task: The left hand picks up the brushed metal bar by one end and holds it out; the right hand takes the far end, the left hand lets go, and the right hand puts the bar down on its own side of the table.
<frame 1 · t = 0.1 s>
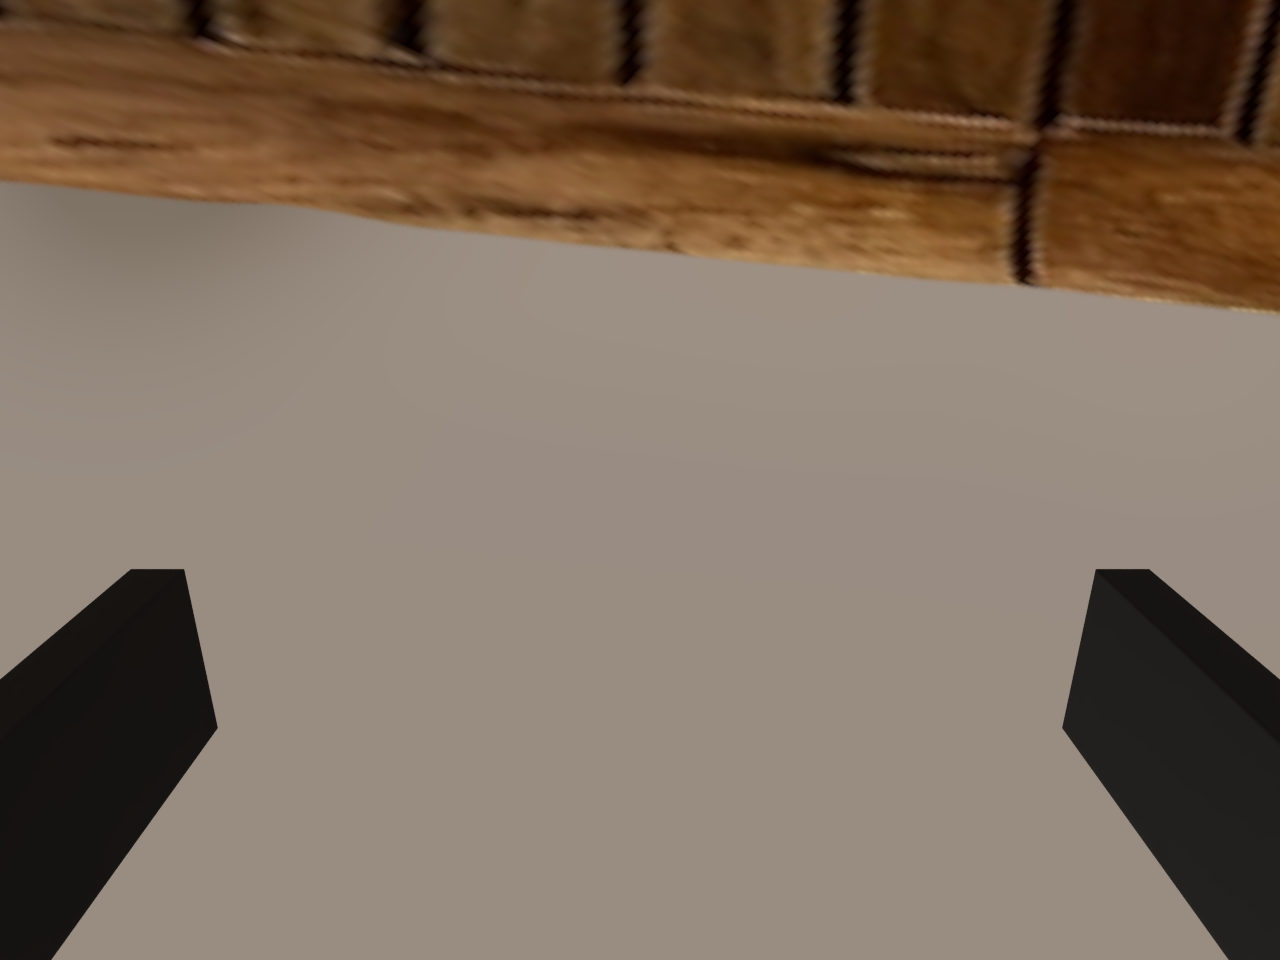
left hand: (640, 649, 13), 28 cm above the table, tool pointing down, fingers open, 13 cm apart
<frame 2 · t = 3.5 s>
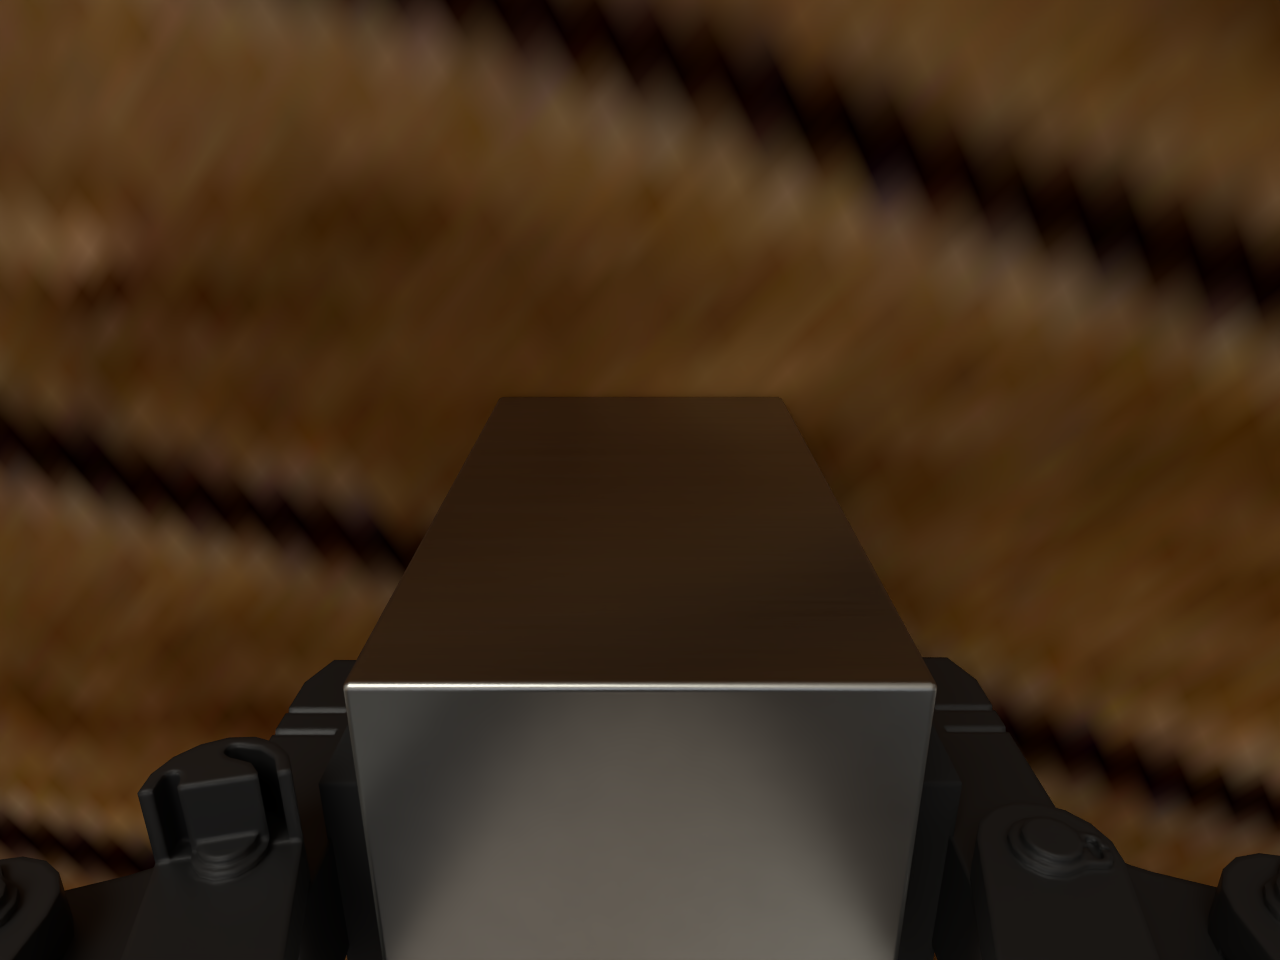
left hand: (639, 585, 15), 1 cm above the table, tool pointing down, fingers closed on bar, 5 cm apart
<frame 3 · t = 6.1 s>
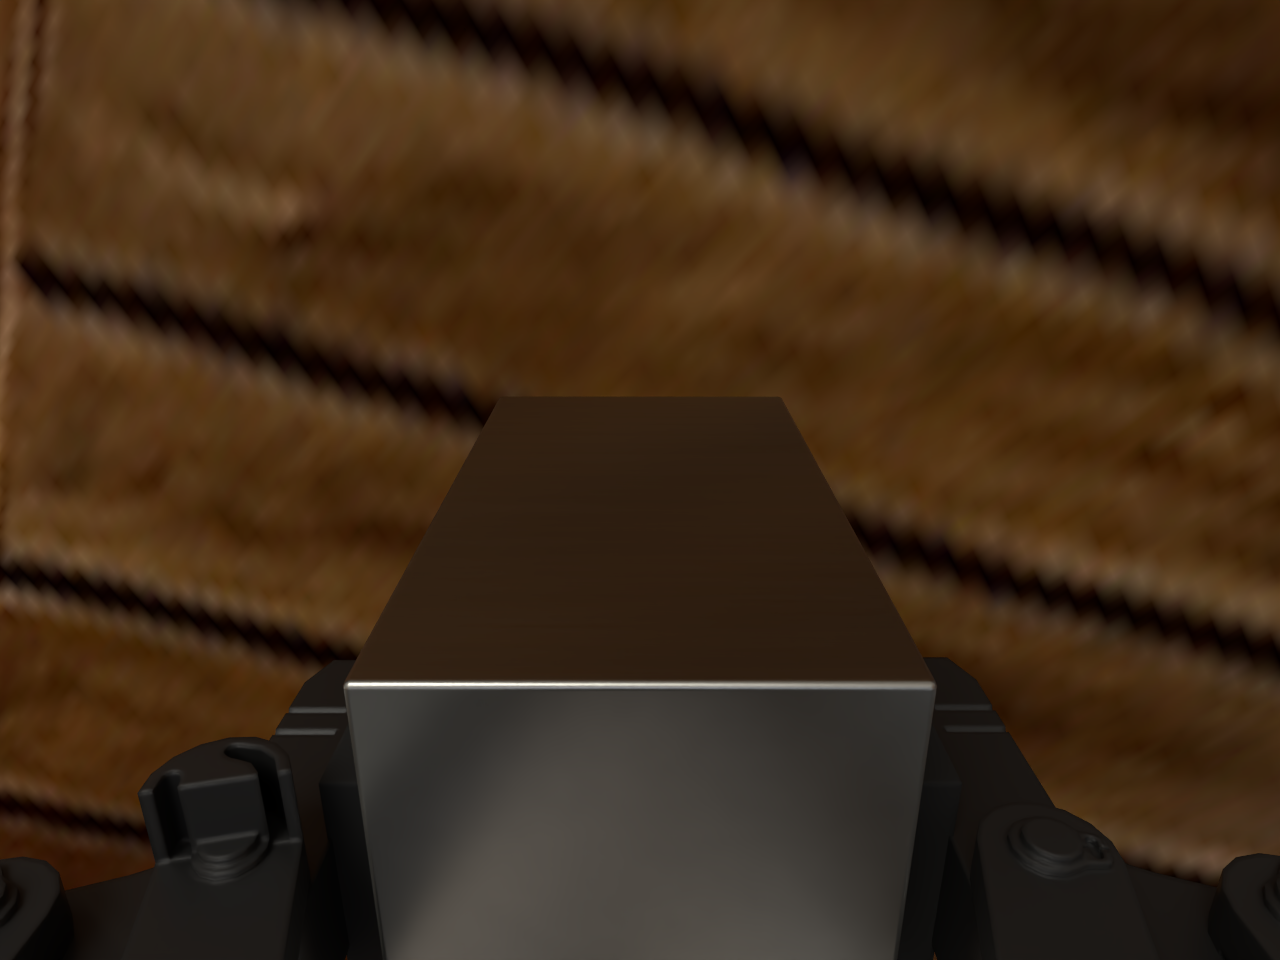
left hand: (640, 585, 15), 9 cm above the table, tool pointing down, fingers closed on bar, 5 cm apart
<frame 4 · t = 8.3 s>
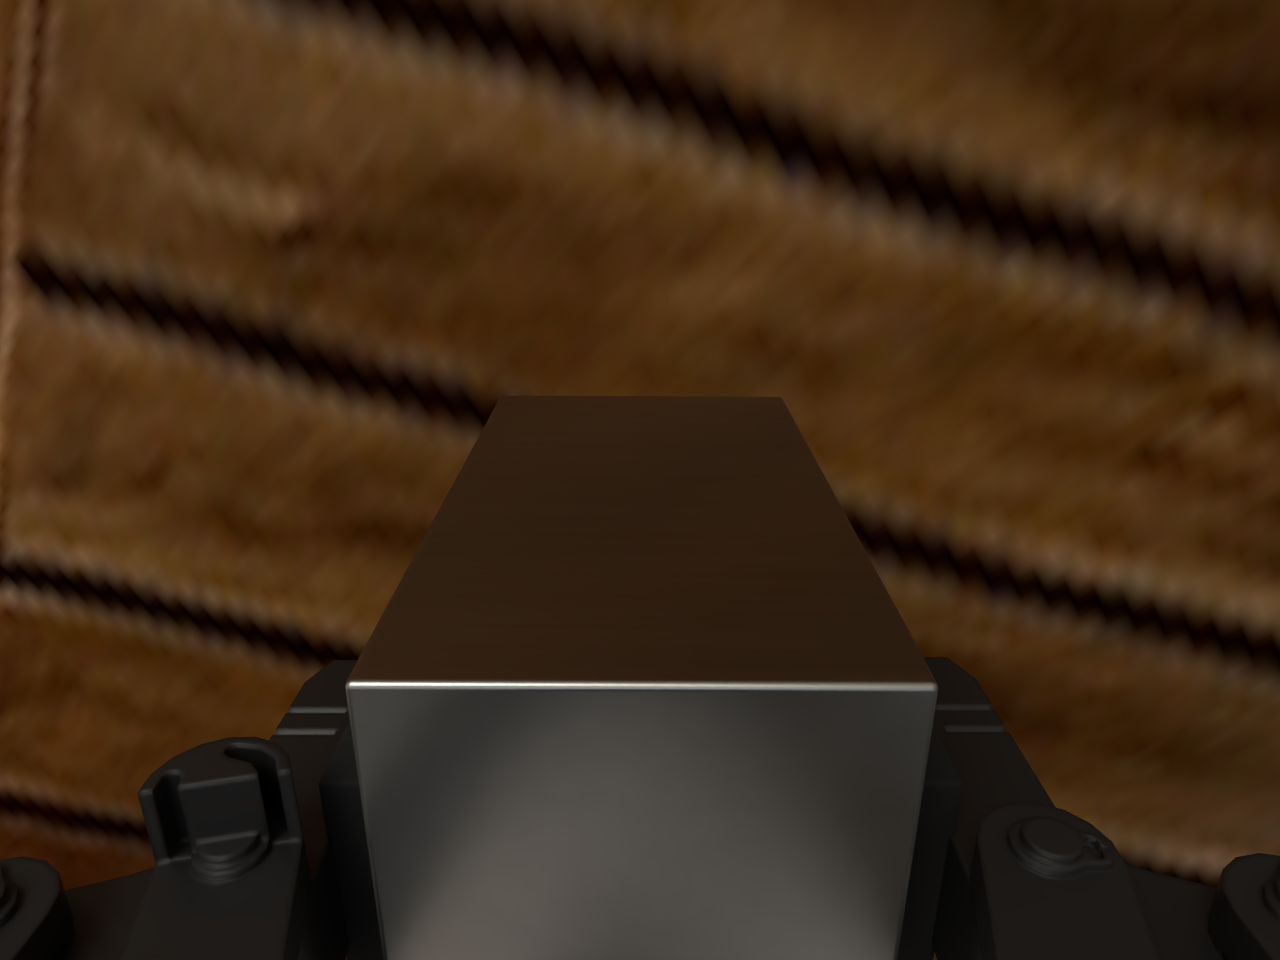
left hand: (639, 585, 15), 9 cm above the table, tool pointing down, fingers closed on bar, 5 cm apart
when the left hand's fingers open (9 cm above the table, at t = 8.8 s): bar stays where it is, held by the right hand.
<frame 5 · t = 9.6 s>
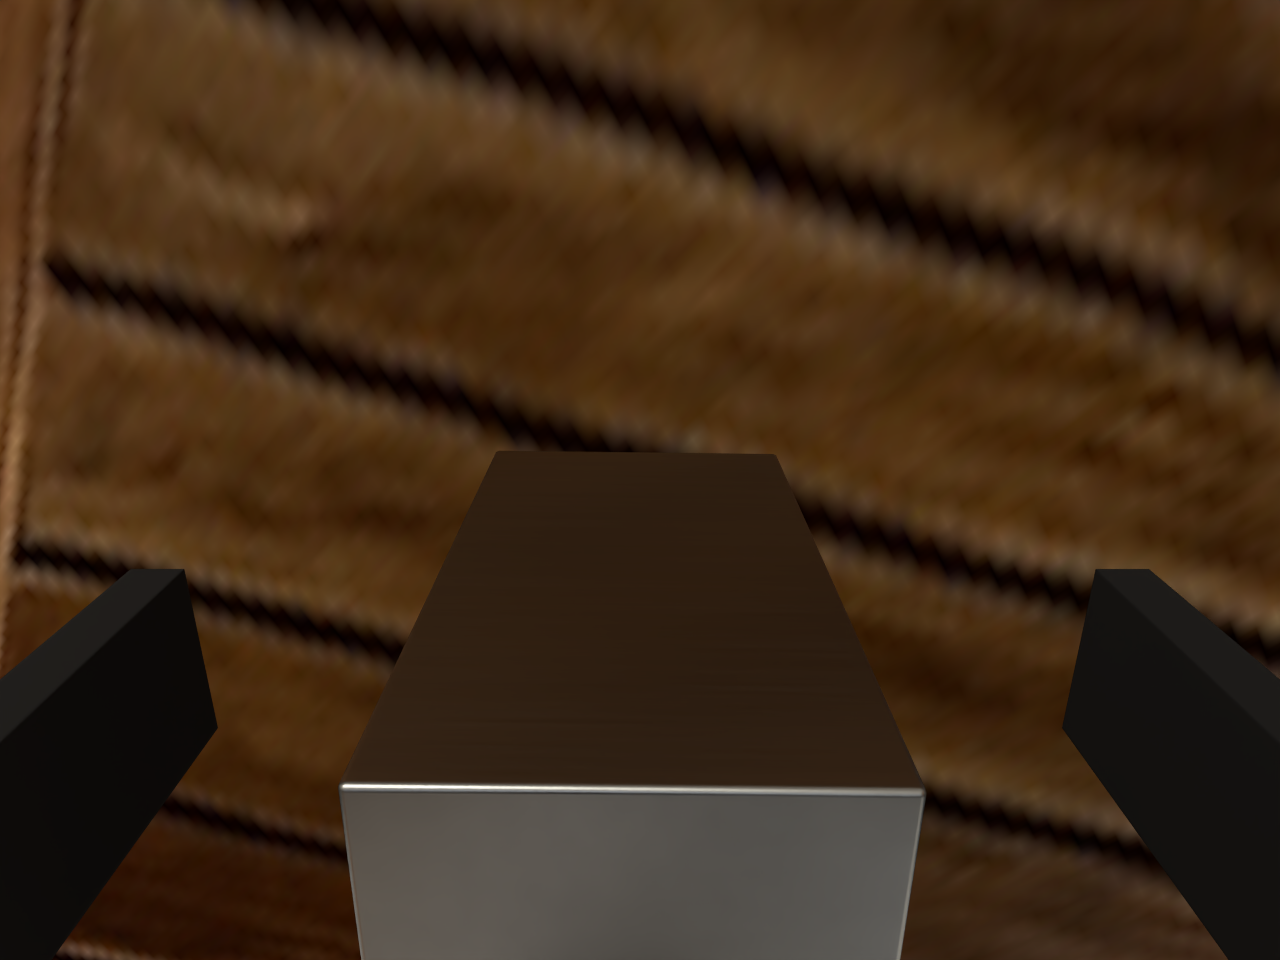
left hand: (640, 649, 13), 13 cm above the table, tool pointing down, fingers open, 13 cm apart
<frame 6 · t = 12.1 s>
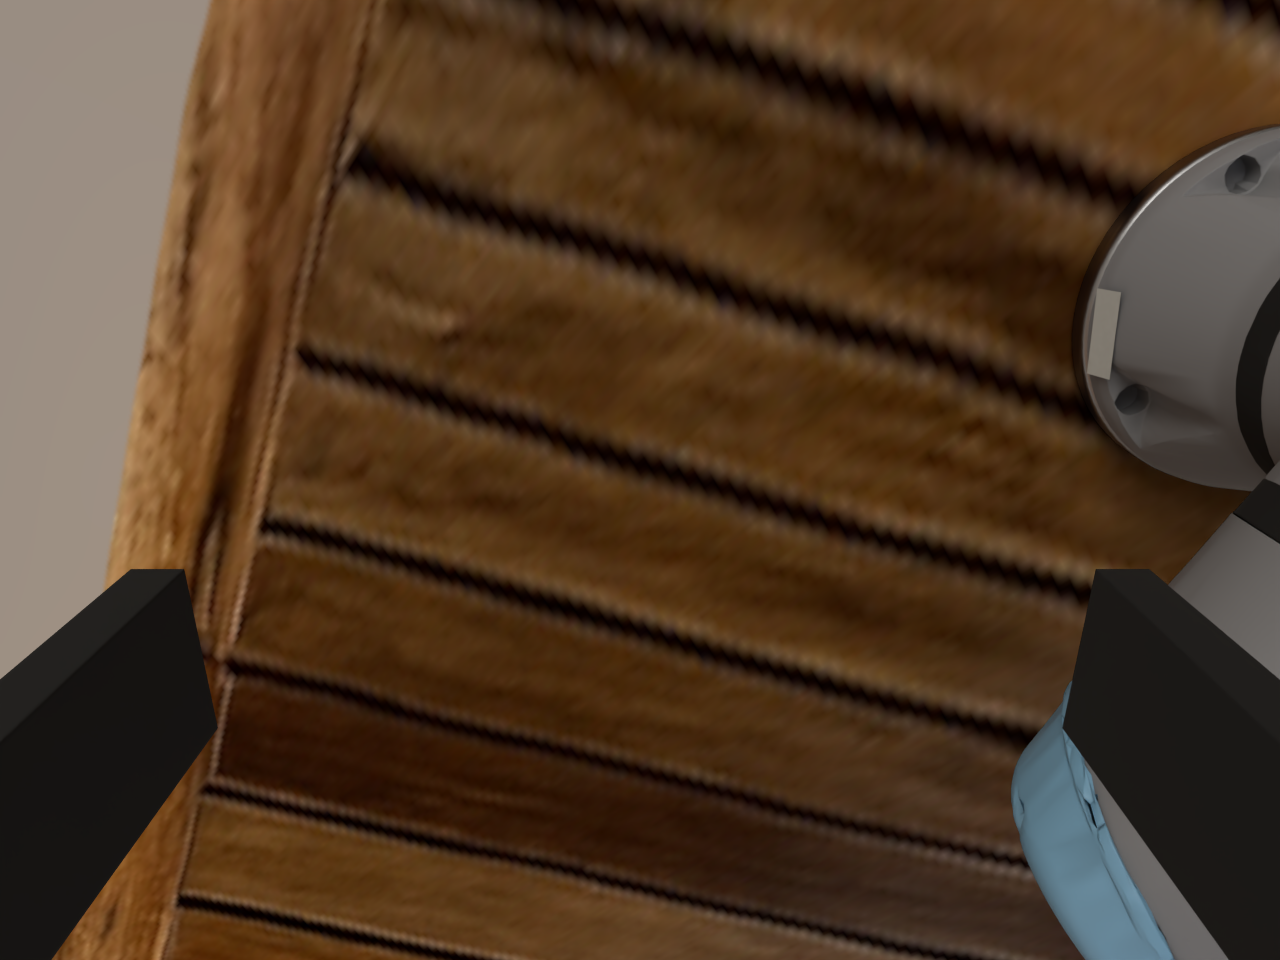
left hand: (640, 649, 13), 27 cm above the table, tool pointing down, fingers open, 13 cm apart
when the right hand's fingers open (2 cm above the table, at t = 16.3 s): bar drops 1 cm, on the table.
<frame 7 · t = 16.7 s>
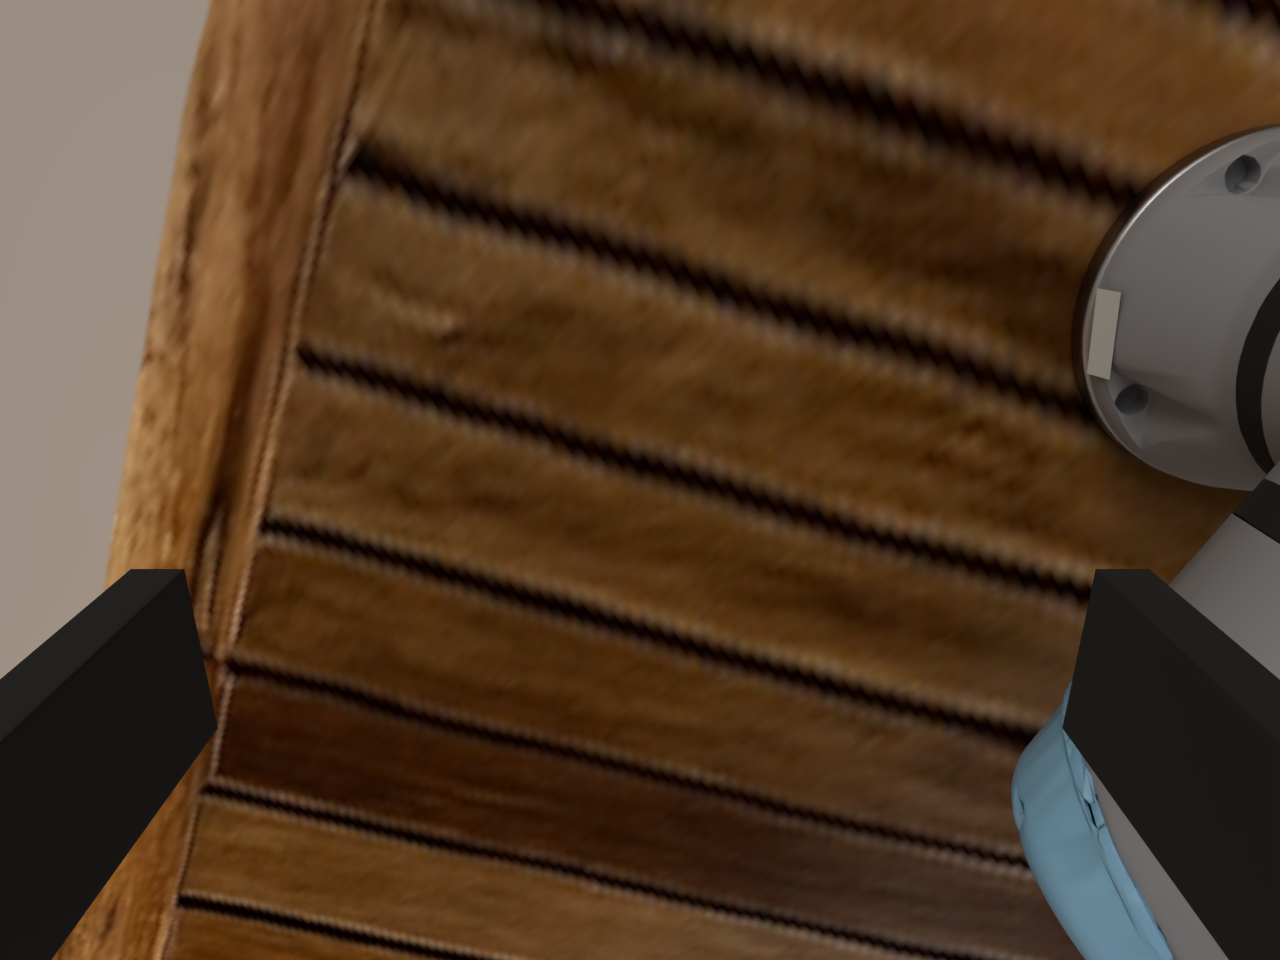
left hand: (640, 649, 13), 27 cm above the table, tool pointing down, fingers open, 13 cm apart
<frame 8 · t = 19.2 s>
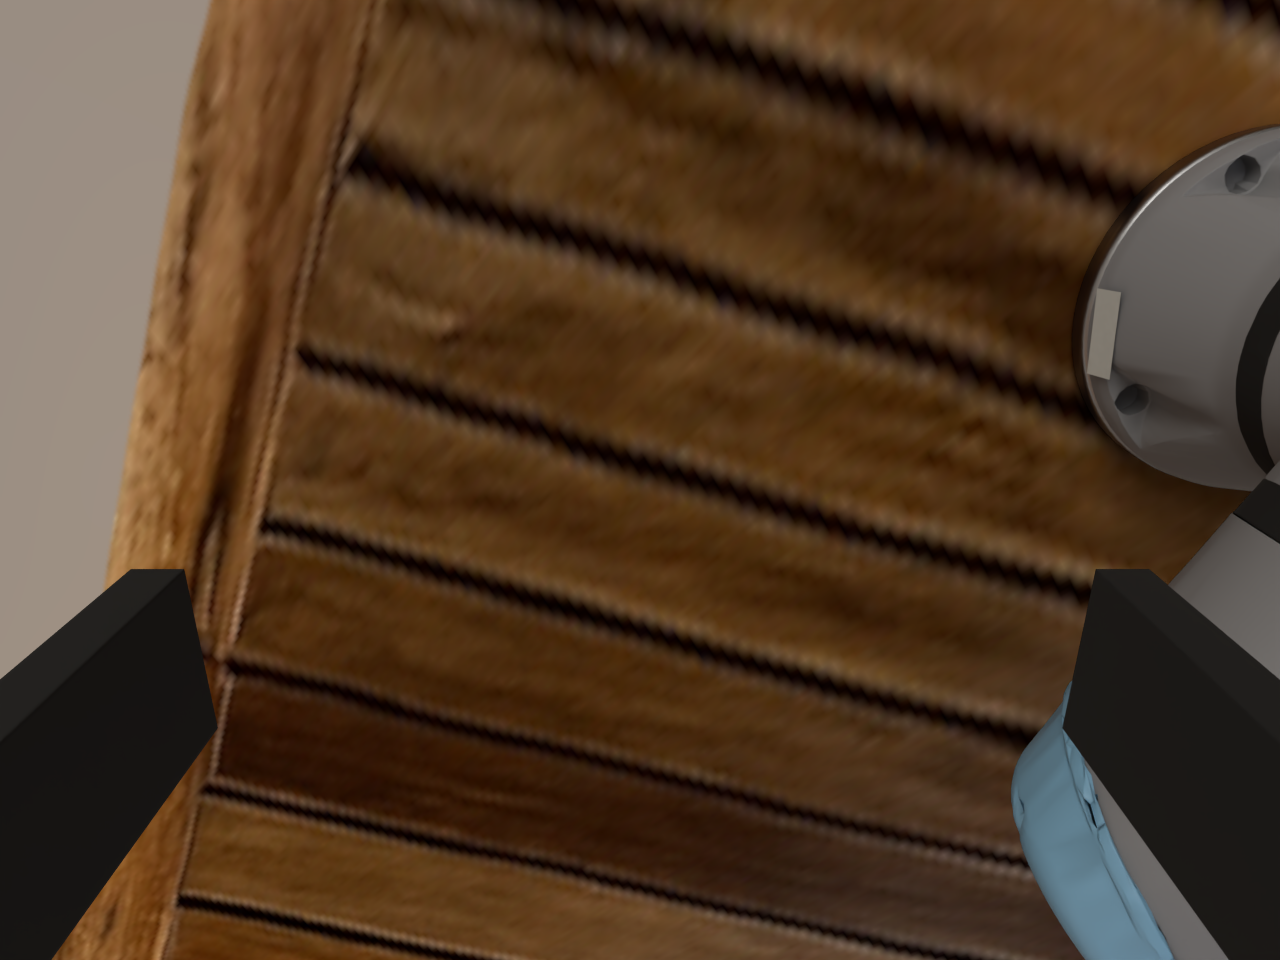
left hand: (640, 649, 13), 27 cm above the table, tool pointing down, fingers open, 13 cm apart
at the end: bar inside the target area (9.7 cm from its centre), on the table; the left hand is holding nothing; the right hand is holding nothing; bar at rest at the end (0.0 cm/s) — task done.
